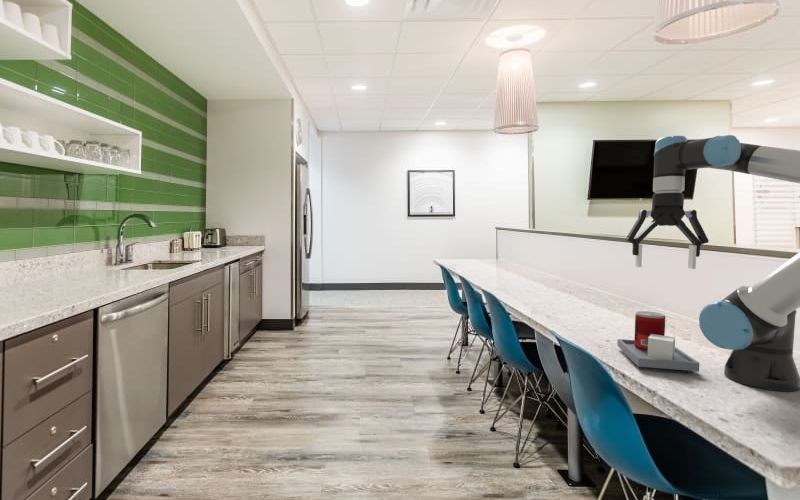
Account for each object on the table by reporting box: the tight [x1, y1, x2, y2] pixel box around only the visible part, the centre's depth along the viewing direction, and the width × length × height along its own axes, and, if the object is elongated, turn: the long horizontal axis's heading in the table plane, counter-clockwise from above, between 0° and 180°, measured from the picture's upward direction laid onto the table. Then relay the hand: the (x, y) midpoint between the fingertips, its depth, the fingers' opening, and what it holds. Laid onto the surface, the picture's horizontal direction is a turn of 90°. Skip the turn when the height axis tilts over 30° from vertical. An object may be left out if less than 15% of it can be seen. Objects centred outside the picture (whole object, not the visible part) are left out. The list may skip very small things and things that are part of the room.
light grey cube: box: [647, 334, 676, 360], centre depth 119 cm, size 6×6×6 cm
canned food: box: [633, 310, 666, 351], centre depth 128 cm, size 8×8×11 cm
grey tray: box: [616, 338, 700, 373], centre depth 124 cm, size 21×15×4 cm
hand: (664, 267), depth 118 cm, fingers open, 13 cm apart
